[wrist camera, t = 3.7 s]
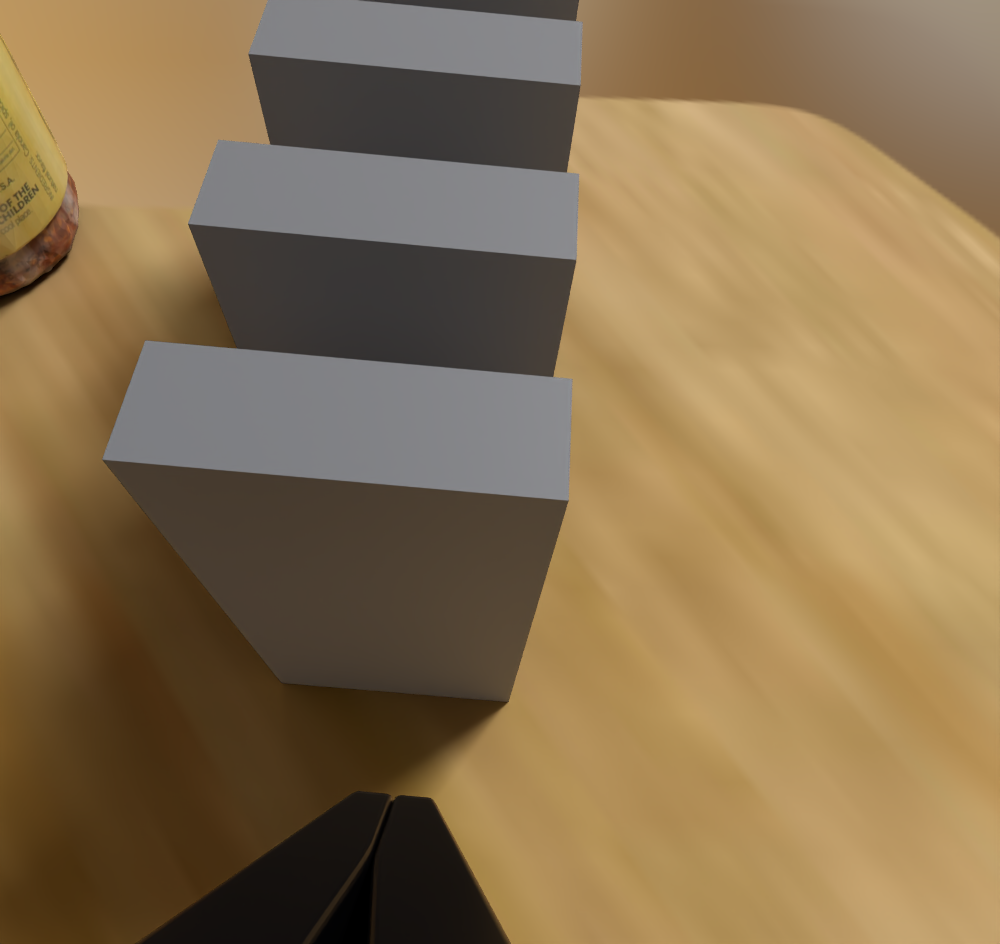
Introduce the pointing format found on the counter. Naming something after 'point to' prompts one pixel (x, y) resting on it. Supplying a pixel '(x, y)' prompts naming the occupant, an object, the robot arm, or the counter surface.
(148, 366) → the domino
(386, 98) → the domino
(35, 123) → the sauce bottle
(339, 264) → the domino
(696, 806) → the counter surface
